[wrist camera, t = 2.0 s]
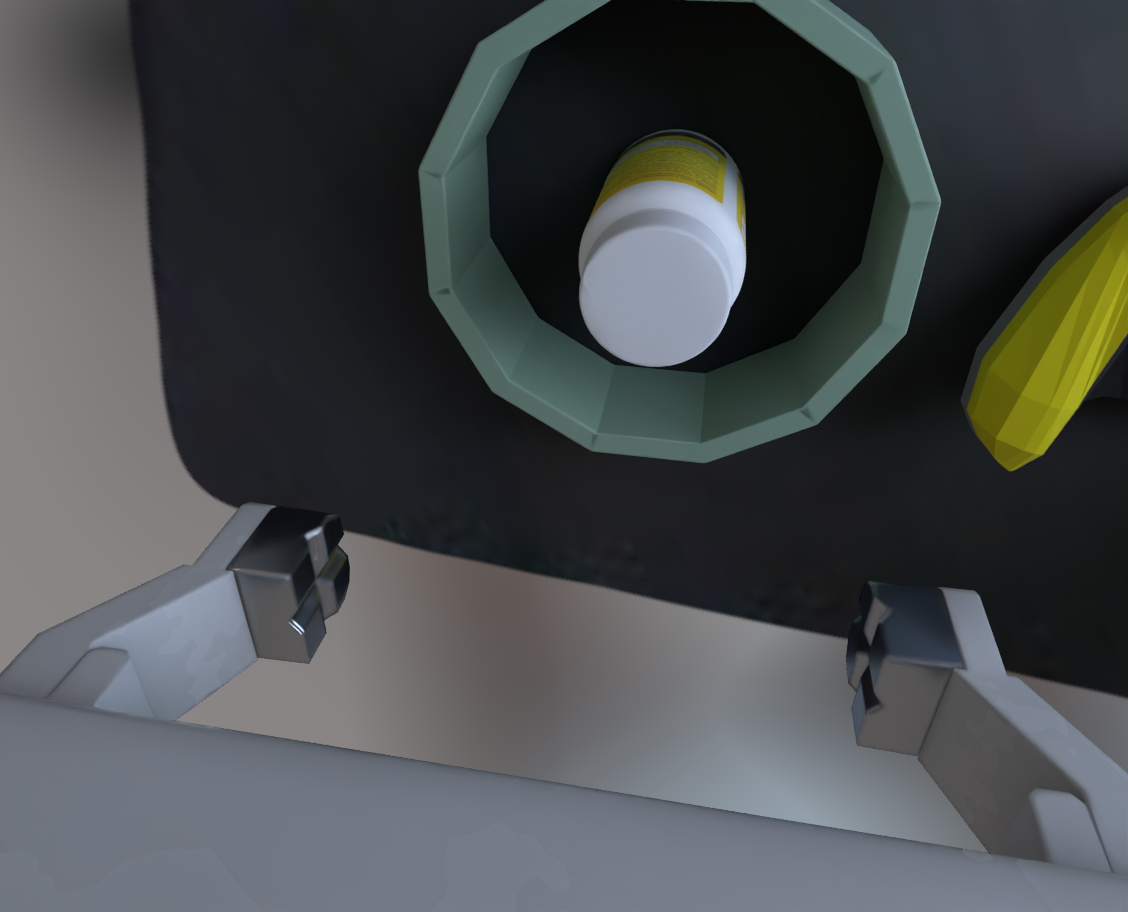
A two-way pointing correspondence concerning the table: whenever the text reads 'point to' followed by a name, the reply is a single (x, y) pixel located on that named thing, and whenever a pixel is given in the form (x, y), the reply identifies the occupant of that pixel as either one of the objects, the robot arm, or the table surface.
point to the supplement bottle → (664, 249)
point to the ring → (656, 396)
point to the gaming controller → (1055, 342)
